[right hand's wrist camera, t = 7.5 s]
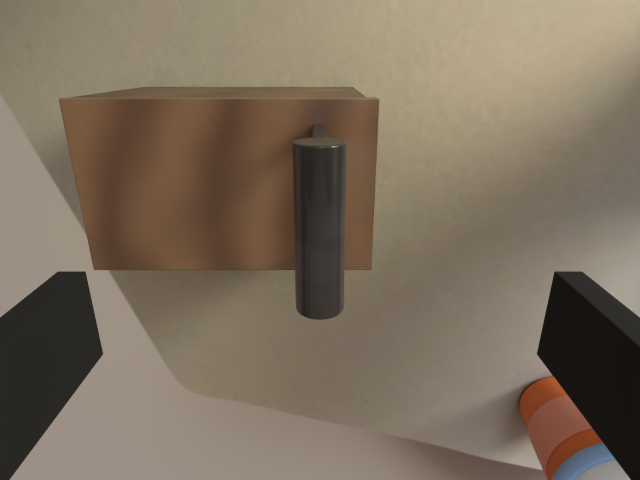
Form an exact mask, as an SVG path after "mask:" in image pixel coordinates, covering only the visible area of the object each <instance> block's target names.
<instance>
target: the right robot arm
mask: <svg viewBox="0 0 640 480" xmlns="http://www.w3.org/2000/svg"><path fill="white" fill-rule="evenodd" d="M102 355H103V352H102V347H101V342H100V338H99V333H98V328H97V324H96V319H95V314H94V310H93V305H92V300H91V296H90V291H89V286H88V282H87V277H86V273H85V272H57V273H56V274H54V275H53V276H52V277H51V278H49V279H48V280H47V281H46V282H44V283H43V284H42V285H41V286H39V287H38V288H37V289H36V290H34V291H33V292H32V293H31V294H29V295H28V296H27V297H26V298H24V299H23V300H22V301H21V302H19V303H18V304H17V305H16V306H14V307H13V308H12V309H11V310H9V311H8V312H7V313H6V314H4V315H3V316H2V317H1V318H0V480H10V478H11V477H12V475H13V474H14V473H15V471H16V470H17V469H18V467H19V466H20V465H21V463H22V462H23V461H24V459H25V458H26V457H27V455H28V454H29V453H30V451H31V450H32V449H33V447H34V446H35V445H36V443H37V442H38V441H39V439H40V438H41V437H42V435H43V434H44V433H45V431H46V430H47V429H48V427H49V426H50V425H51V423H52V422H53V420H54V419H55V418H56V416H57V415H58V414H59V412H60V411H61V410H62V408H63V407H64V406H65V404H66V403H67V402H68V400H69V399H70V398H71V396H72V395H73V394H74V392H75V391H76V390H77V388H78V387H79V386H80V384H81V383H82V382H83V380H84V379H85V378H86V376H87V375H88V374H89V372H90V371H91V369H92V368H93V367H94V365H95V364H96V363H97V361H98V360H99V359H100V357H101V356H102ZM537 355H538V356H539V357H540V359H541V360H542V361H543V363H544V364H545V365H546V367H547V368H548V369H549V371H550V372H551V374H552V375H553V376H554V378H555V379H556V380H557V382H558V383H559V384H560V386H561V387H562V388H563V390H564V391H565V392H566V394H567V395H568V396H569V398H570V399H571V400H572V402H573V403H574V404H575V406H576V407H577V408H578V410H579V411H580V412H581V414H582V415H583V416H584V418H585V419H586V421H587V422H588V423H589V425H590V426H591V427H592V429H593V430H594V431H595V433H596V434H597V435H598V437H599V438H600V439H601V441H602V442H603V443H604V445H605V446H606V447H607V449H608V450H609V451H610V453H611V454H612V455H613V457H614V458H615V459H616V461H617V462H618V463H619V465H620V466H621V467H622V469H623V470H624V472H625V473H626V474H627V476H628V477H629V478H630V480H640V318H639V317H638V316H637V315H636V314H634V313H633V312H632V311H631V310H629V309H628V308H627V307H626V306H624V305H623V304H622V303H621V302H619V301H618V300H617V299H616V298H614V297H613V296H612V295H611V294H609V293H608V292H607V291H606V290H604V289H603V288H602V287H601V286H599V285H598V284H597V283H596V282H594V281H593V280H592V279H591V278H589V277H588V276H587V275H586V274H584V273H583V272H554V277H553V282H552V286H551V291H550V296H549V300H548V305H547V310H546V314H545V319H544V324H543V328H542V333H541V338H540V342H539V347H538V352H537Z"/></svg>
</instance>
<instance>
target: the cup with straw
mask: <svg viewBox="0 0 640 480" xmlns="http://www.w3.org/2000/svg"><path fill="white" fill-rule="evenodd" d="M520 411H521V414H522V417H523V419H524V421H525V424H526V426H527V428H528V435H529V438H530V440H531V443H532V445H533V447H534V450H535V452H536V454H537V457H538V459H539V461H540V464H541V466H542V468H543V471H544V473H545V475H546V477H547V479H548V480H630V478H629V477H628V476H627V474H626V473H625V472H624V470H623V469H622V467H621V466H620V465H619V463H618V462H617V461H616V459H615V458H614V457H613V455H612V454H611V453H610V451H609V450H608V449H607V447H606V446H605V445H604V443H603V442H602V441H601V439H600V438H599V437H598V435H597V434H596V433H595V431H594V430H593V429H592V427H591V426H590V425H589V423H588V422H587V421H586V419H585V418H584V416H583V415H582V414H581V412H580V411H579V410H578V408H577V407H576V406H575V404H574V403H573V402H572V400H571V399H570V398H569V396H568V395H567V394H566V392H565V391H564V390H563V388H562V387H561V386H560V384H559V383H558V382H557V380H556V379H555V378H554V377H548V378H544V379H541V380H539V381H537V382H535V383H533V384H532V385H531V386H529V387H528V388H527V389H526V391H525V392H524V393H523V395H522V397H521V400H520Z"/></svg>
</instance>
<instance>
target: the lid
mask: <svg viewBox="0 0 640 480" xmlns="http://www.w3.org/2000/svg"><path fill="white" fill-rule="evenodd" d="M59 103H60V107H61V112H62V117H63V122H64V127H65V132H66V136H67V141H68V146H69V151H70V156H71V161H72V166H73V170H74V175H75V180H76V185H77V190H78V195H79V200H80V204H81V209H82V214H83V219H84V224H85V229H86V233H87V238H88V243H89V248H90V253H91V258H92V263H93V267H94V270H295V284H296V309H297V311H298V312H299V313H300V314H301V315H302V316H304V317H307V318H311V319H329V318H332V317H335V316H337V315H339V314H340V313H341V312H342V310H343V303H344V270H371V264H372V242H373V221H374V199H375V178H376V156H377V135H378V114H379V99H378V98H376V97H215V98H63V99H59Z"/></svg>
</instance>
